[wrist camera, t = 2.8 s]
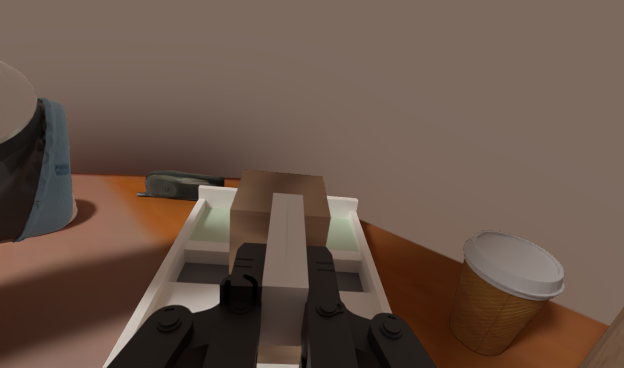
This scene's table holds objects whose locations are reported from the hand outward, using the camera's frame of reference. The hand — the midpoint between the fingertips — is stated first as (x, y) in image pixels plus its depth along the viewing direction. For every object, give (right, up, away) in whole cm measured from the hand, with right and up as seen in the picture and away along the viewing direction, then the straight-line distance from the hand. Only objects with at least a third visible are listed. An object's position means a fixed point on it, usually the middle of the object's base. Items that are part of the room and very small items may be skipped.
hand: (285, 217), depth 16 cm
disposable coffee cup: (+21, -16, +22) cm, 35 cm away
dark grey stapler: (-23, -1, +42) cm, 48 cm away
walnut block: (-3, -13, +15) cm, 20 cm away
